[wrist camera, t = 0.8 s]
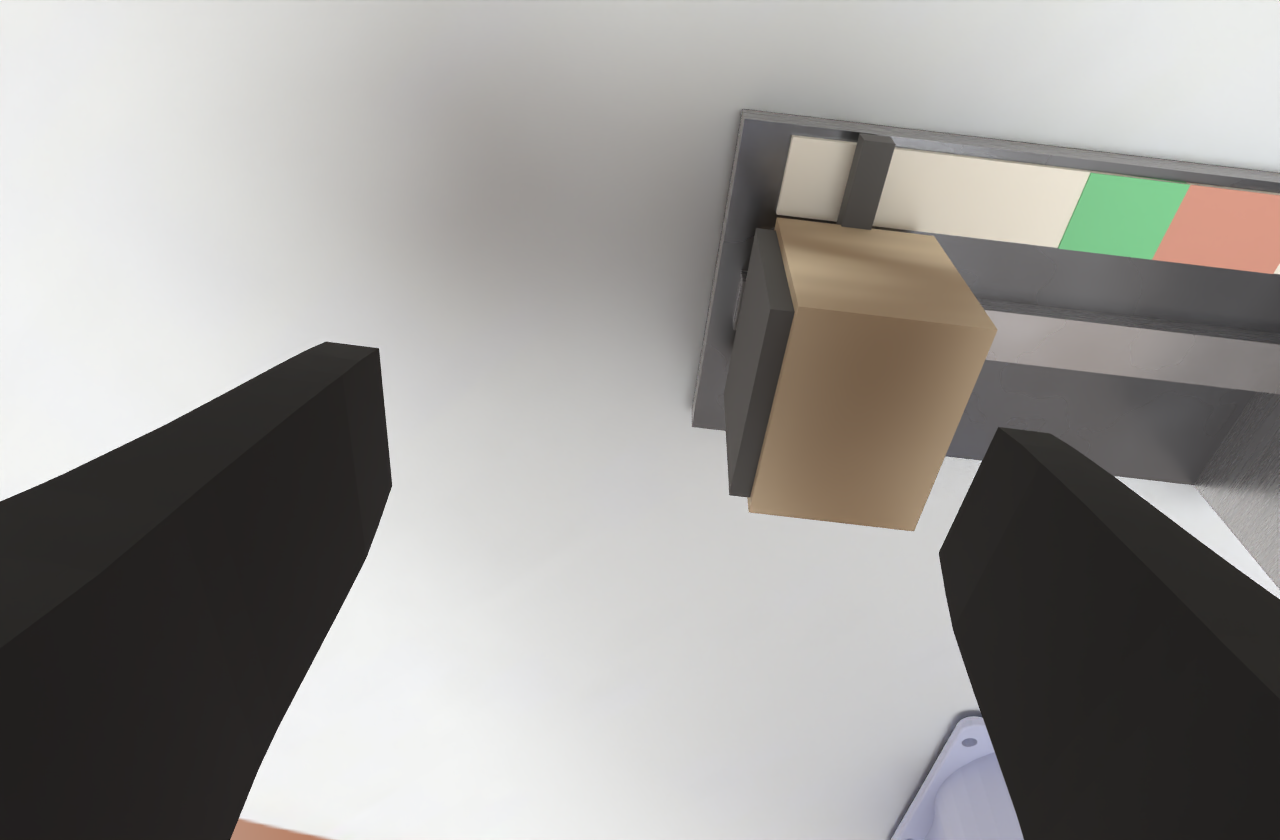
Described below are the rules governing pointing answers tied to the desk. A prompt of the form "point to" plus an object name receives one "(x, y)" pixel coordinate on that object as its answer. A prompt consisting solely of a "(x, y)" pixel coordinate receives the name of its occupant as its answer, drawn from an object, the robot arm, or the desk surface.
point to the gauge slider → (849, 363)
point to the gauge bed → (1063, 295)
